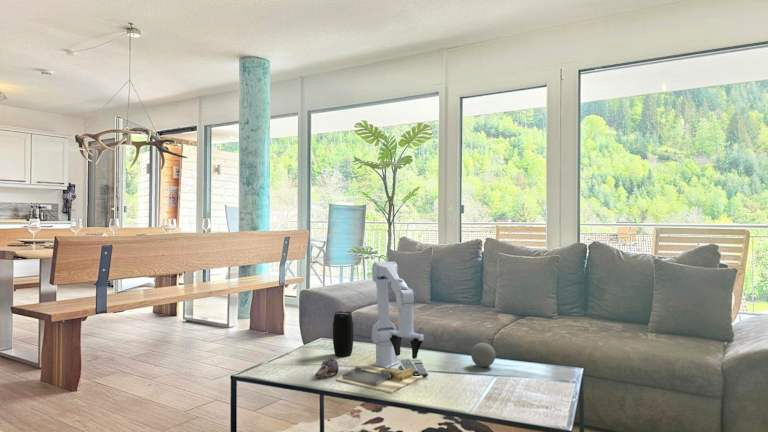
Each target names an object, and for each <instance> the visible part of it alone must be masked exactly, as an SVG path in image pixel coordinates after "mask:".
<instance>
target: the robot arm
mask: <svg viewBox="0 0 768 432" xmlns="http://www.w3.org/2000/svg"><path fill="white" fill-rule="evenodd" d="M398 269H399V268H398V264H397V262H396V261H394V260H393V261H374V262H373V263H372V265H371V278H372V282H374V283H375V285H376V300H377V301H376V302H377V317H378V318H377V319H378V320H377V321H376V322H375V323H374V324H373V325H372V327H371V329H372V330H371V340H372V342H373V344H374V345H375V362H374V363H372V364H371V366H374V367H379V368H385V369H386V368H388V367H389V368H392V367H393V366H395V365H398V364H399V363H400V362H399V361H398V356H400V355H401V346H402V345H401V344H402V343H401V342H402V338H403V339H411V340H410V341H409V343H410V345H411V357H412V359H413V360H416V359H418V358H417V357H418V354H419V351H420V348H421V346H422V343H423V340H424V338H425V336H424V334H422V333H418V332H415V331H414V305H415V304H416V302H417V294H416V292H415V289H413V288H410V287H409V286H408V285H407V283H406V282H405V280H404V279H403V278H400V276H399V275H398ZM389 283H391V284H390V287H391V289H392V291H393V293H394V295H395V301H396V308H397V310H398V330H397V327H396V324H395V323H393V322H392V321H390V304H389V302H390V301H389V287H388V284H389Z"/></svg>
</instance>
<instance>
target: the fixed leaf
mask: <svg viewBox="0 0 768 432" xmlns="http://www.w3.org/2000/svg"><path fill="white" fill-rule="evenodd" d="M364 368H365V367H364V366H355V367H354V370H352V371H350V372H347V373H345V374H343V375H342V376H341V377H342V378H343V379H348V380H352V381H357V382H361V383H366V384H370V385H375V386H377V385H379V384H381V383H383V382H385V381H387V380H390V379H391V378H392V376H391V373H390V372H385V371H384V372H382V374H381V373H376V372H371V371H366V370H364Z"/></svg>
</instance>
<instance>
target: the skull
mask: <svg viewBox="0 0 768 432" xmlns="http://www.w3.org/2000/svg"><path fill="white" fill-rule="evenodd" d="M339 369H340V368H339V363H338V361H337V360H336V359H335V358H333V357H332V358H329V359H324V360H323V361H322V363H321V366H320V367H319V369H318V370H317V372H315V375H314V378H320V380H323V379H324V380H325V379H328V378H331V377H333V376H336V375H337V374H338V373H339Z"/></svg>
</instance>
